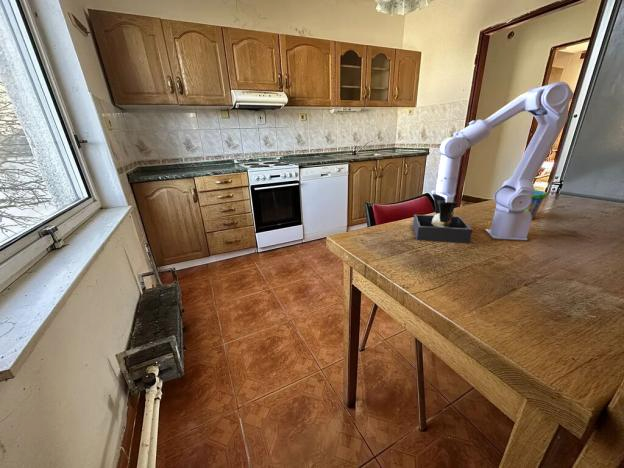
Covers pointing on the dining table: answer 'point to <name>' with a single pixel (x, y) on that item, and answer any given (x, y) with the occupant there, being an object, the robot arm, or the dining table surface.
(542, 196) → the snack cup
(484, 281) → the dining table surface
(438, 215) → the chocolate bunny
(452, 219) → the bin
